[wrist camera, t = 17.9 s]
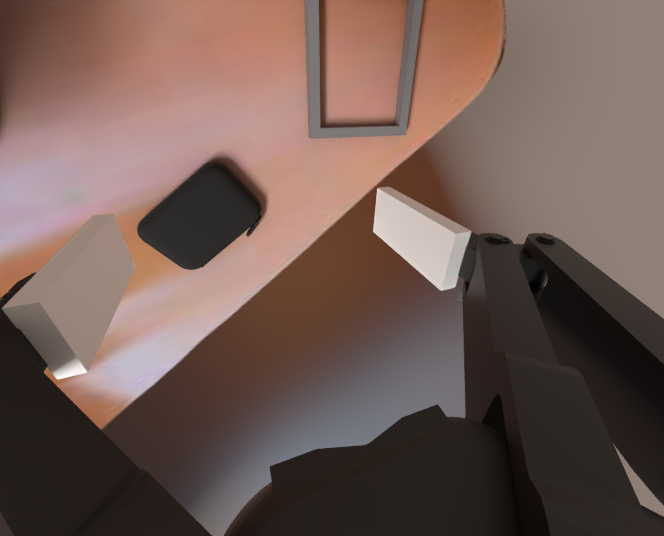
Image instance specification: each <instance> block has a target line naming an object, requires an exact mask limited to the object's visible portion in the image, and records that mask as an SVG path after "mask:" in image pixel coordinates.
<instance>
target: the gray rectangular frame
mask: <svg viewBox="0 0 664 536" xmlns="http://www.w3.org/2000/svg"><path fill="white" fill-rule="evenodd" d="M423 1H424V0H408V8H407V17H406V26H405V35H404V44H403V53H402V62H401V71H400V80H399V89H398V98H397V107H396V116H395V125H385V126H347V127H320V53H319V0H305V31H306V61H307V92H308V123H309V137H310V138H312V139H316V138H342V137H368V136H394V135H406V130H407V122H408V114H409V107H410V99H411V92H412V84H413V77H414V69H415V62H416V54H417V46H418V39H419V31H420V24H421V16H422V9H423Z"/></svg>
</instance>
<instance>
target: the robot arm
mask: <svg viewBox="0 0 664 536" xmlns="http://www.w3.org/2000/svg"><path fill="white" fill-rule="evenodd" d="M373 232H374V233H375V234H377V235H378V236H379V237H380V238H381V239H382V240H383V241H385V242H386V243H387V244H388V245H389V246H390V247H391V248H393V249H394V250H395V251H396V252H397V253H398V254H399V255H401V256H402V257H403V258H404V259H405V260H406V261H408V262H409V263H410V264H411V265H412V266H413V267H414V268H415V269H417V270H418V271H419V272H420V273H421V274H422V275H424V276H425V277H426V278H427V279H428V280H429V281H430V282H432V283H433V284H434V285H435V286H436V287H437V288H438V289H440V290H441V291H442V290H446V289H450V288H455V286H456V283H457V279H458V276H460V277H461V278H463V279H464V280H465V281H464V284H463V287H462V290H461V294H460V297H459V300H458V301H459V302H461V300H462V299H463V333H464V371H465V410H466V416H465V418H460V417H446V415H445V414H444V412H443V411H442V410H441V408H440V407H439V405H435V406H432V407H429V408H427V409H424V410H421V411H419V412H416V413H413V414H411V415H408V416H405V417H402V418H401V419H400V420H398V421H397V422H396V423H395V424H393V425H392V426H391V427H390V428H388V429H387V430H386V431H384V432H383V433H382V434H381V435H379V436H378V437H377V438H375V439H374V440H373V441H372V442H370V443H369V444H367V445H362V446H349V447H337V448H324V449H316V450H313V451H310V452H308V453H305V454H303V455H300V456H297V457H294V458H291V459H289V460H286V461H283V462H281V463H278V464H275V465H273V466H270V471H271V478H272V482H271V483H270V484H268V485H267V486H265V487H264V488H263V489H261V490H260V491H259V492H258V493H257V494H256V495H255V496H254V497H253V498H252V499H251V500H250V501H249V502H248V503H247V504H246V505H245V506H244V508H243V509H242V510H241V511H240V512H239V514H238V515H237V516H236V518H235V519H234V520H233V522H232V523H231V524H230V526H229V528H228V529H227V531H226V533H225V534H224V536H664V517H663V516H661V515H659V514H657V513H655V512H653V511H651V510H649V509H648V508H646V507H644V506H642V505H640V503H639V501H638V498H637V496H636V494H635V492H634V489H633V487H632V485H631V483H630V480H629V478H628V476H627V474H626V472H625V469H624V467H623V465H622V462H621V460H620V458H619V456H618V454H617V452H616V449H615V447H614V445H615V446H616V448H617V449H618V450H619V452H620V453H621V455H622V456H623V457H624V459H625V460H626V461H627V463H628V464H629V465H630V467H631V468H632V469H633V471H634V472H635V473H636V474H637V475H638V476H639V478H640V479H641V480H642V481H643V482H644V484H645V485H646V486H647V487H648V488H649V490H650V491H651V492H652V493H653V494H654V495H655V497H656V498H657V499H658V500H659V501H660V502H661V503H662V504H663V505H664V319H663V318H662V317H660V316H659V315H658V314H656V313H655V312H654V311H653V310H651V309H650V308H649V307H647V306H646V305H645V304H643V303H642V302H641V301H640V300H638V299H637V298H636V297H634V296H633V295H632V294H631V293H629V292H628V291H627V290H625V289H624V288H623V287H621V286H620V285H619V284H618V283H616V282H615V281H614V280H612V279H611V278H610V277H609V276H607V275H606V274H605V273H603V272H602V271H601V270H599V269H598V268H597V267H596V266H594V265H593V264H592V263H590V262H589V261H588V260H587V259H585V258H584V257H582V256H581V255H580V254H579V253H577V252H576V251H575V250H574V249H572V248H571V247H570V246H568V245H567V244H566V243H565V242H563V241H562V240H560V239H558V238H556V237H553V236H552V235H549V234H545V233H543V234H539V233H538V234H537V233H535V234H529V235H528V236H527V238H526V241H525V243H524V244H521V245H520V244H513V242H512V241H511V240H510V239H509V238H507V237H504V236H502V235H499V234H494V233H492V234H491V233H484V234H480V235H477V234H475V233H473V232H471V231H470V230H468V229H466V228H465V227H463V226H461V225H459V224H457V223H455V222H453V221H451V220H450V219H448V218H446V217H444V216H442V215H440V214H438V213H437V212H435V211H433V210H431V209H429V208H427V207H426V206H424V205H422V204H420V203H418V202H416V201H414V200H412V199H411V198H409V197H407V196H405V195H403V194H401V193H399V192H398V191H396V190H394V189H392V188H390V187H383V188H377V198H376V208H375V219H374V230H373ZM135 267H136V266H135V263H134V261H133V258H132V256H131V254H130V251H129V249H128V247H127V244H126V242H125V239H124V237H123V235H122V232H121V230H120V228H119V225H118V223H117V220H116V218H115V216H114V214H106V215H96V216H93V217H92V218H91V219H90V220H89V221H88V222H87V223H86V224H85V225H84V226H83V227H82V228H81V229H80V230H79V231H78V232H77V233H76V234H75V235H74V236H73V237H72V238H71V239H70V240H69V241H68V242H67V243H66V244H65V245H64V246H63V247H62V248H61V249H60V250H59V251H58V252H57V253H56V254H55V255H54V256H53V257H52V258H51V259H50V260H49V261H48V262H47V263H46V264H45V265H44V266H43V267H42V268H41V269H40V270H39V271H38V272H37V273H33V274H31V275H29V276H27V277H26V278H24V279H22V280H20V281H19V282H17V283H16V284H15V285H14V286H13V287H12V288H11V289H10V290H9V291H8V293H6V294H5V295H4V296H3V297H2V298H1V299H0V512H1V514H2V516H3V517H4V519H5V521H6V523H7V524H8V526H9V528H10V530H11V531H12V533H13V535H14V536H212V535H211V534H210V533H209V532H207V530H206V529H205V528H204V527H203V526H202V525H201V524H200V523H198V521H196V520H195V519H194V518H193V517H192V516H191V515H190V514H189V513H188V512H187V511H186V510H185V509H184V508H183V507H182V506H181V505H180V504H179V503H178V502H177V501H176V500H175V499H174V498H173V497H172V496H171V495H170V494H169V493H168V492H167V491H166V490H165V489H164V488H163V487H162V486H161V485H160V484H159V483H158V482H157V481H156V480H155V479H154V478H153V477H152V476H151V475H150V474H149V473H148V472H146V471H145V470H144V469H140V468H138V467H137V466H136V465H135V464H134V463H133V462H132V461H131V460H130V459H129V458H128V457H127V456H126V455H125V454H124V453H123V452H122V451H121V450H120V449H119V448H118V447H117V446H116V445H115V444H114V443H113V442H112V441H111V440H110V439H109V438H108V437H107V436H106V435H105V434H104V433H103V432H102V431H101V430H100V429H99V428H98V427H97V426H96V425H95V424H94V423H93V422H92V421H91V420H90V419H89V418H88V417H87V416H86V415H85V414H84V413H83V412H82V411H81V410H80V409H79V408H78V407H77V406H76V405H75V404H74V403H73V402H72V401H71V400H70V399H69V398H68V397H67V396H66V395H65V394H64V393H63V392H62V391H61V390H60V389H59V388H58V387H57V386H56V385H55V384H54V383H53V382H52V381H51V380H50V379H49V378H48V377H47V376H46V375H45V374H44V373H43V372H44V370H45V369H46V367H48V368H49V370H50V371H51V372H52V373H53V375H54V376H55V377H56V379H57V380H58V379H62V378H66V377H70V376H75V375H79V374H83V373H88V371H89V368H90V366H91V364H92V362H93V360H94V357H95V355H96V353H97V351H98V349H99V346H100V344H101V342H102V340H103V338H104V335H105V333H106V331H107V329H108V327H109V324H110V322H111V320H112V318H113V316H114V313H115V311H116V309H117V307H118V305H119V302H120V300H121V298H122V296H123V294H124V291H125V289H126V287H127V285H128V283H129V280H130V278H131V276H132V274H133V272H134V269H135ZM547 280H548V281H547ZM546 282H547V284H546ZM545 284H546V286H544V285H545ZM613 443H614V445H613Z"/></svg>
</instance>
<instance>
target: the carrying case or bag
mask: <svg viewBox="0 0 664 536" xmlns="http://www.w3.org/2000/svg"><path fill="white" fill-rule="evenodd" d="M260 214H261V205H260V203H259V201H258V200H257V198H256V197H255V196H254V195H253V194H252V193H251V192H250V191H249V190H248V189H247V188H246V187H245V186H244V185H243V183H242V182H241V181H240V180H239V179H238V178H237V177H236V176H235V175H234V174H233V173H232V172H231V171H230V170H229V169H228V167H226V166H225V165H224V164H222V163H219V162H209V163H206V164H205V165H203V166H202V167H201V168H200V169H199V170H197V171H196V172H195V173H194V174H193V175H192V176H191V177H189V178H188V179H187V180H186V181H185V182H184V183H183V184H182V185H180V186H179V187H178V188H177V189H176V190H175V191H174V192H173V193H171V194H170V195H169V196H168V197H167V198H166V199H165V200H163V201H162V202H161V203H160V204H159V205H158V206H157V207H155V208H154V209H153V210H152V211H151V212H150V213H149V214H147V215H146V216H145V217H144V218H143V219H142V220H141V221H140V222H139V224H138V227H137V232H138V235H139V236H140V238H141V239H142V240H143V241H144V242H146V243H147V244H149V245H150V246H152V247H153V248H154V249H156V250H157V251H159V252H160V253H162V254H163V255H164V256H166V257H167V258H169V259H170V260H172V261H173V262H174V263H176V264H177V265H179V266H180V267H182V268H184V269H189V270H193V269H198V268H200V267H203V266H204V265H205V264H207V263H208V262H209V261H210V260H211V259H213V258H214V257H215V256H216V255H217V254H219V253H220V252H221V251H222V250H223V249H225V248H226V247H227V246H228V245H229V244H231V243H232V242H233V241H234V240H235V239H237V238H238V237H239V236H240V235H241V234H243V233H244V232H245V231H246V230H247V229H248V228H250V229H249V230H248V232H247V236H249V235H250V234H251V233H252V232H253V230H254V229H255V228H256V226H257V225H258V223H259V219H260V218H261V215H260Z"/></svg>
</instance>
